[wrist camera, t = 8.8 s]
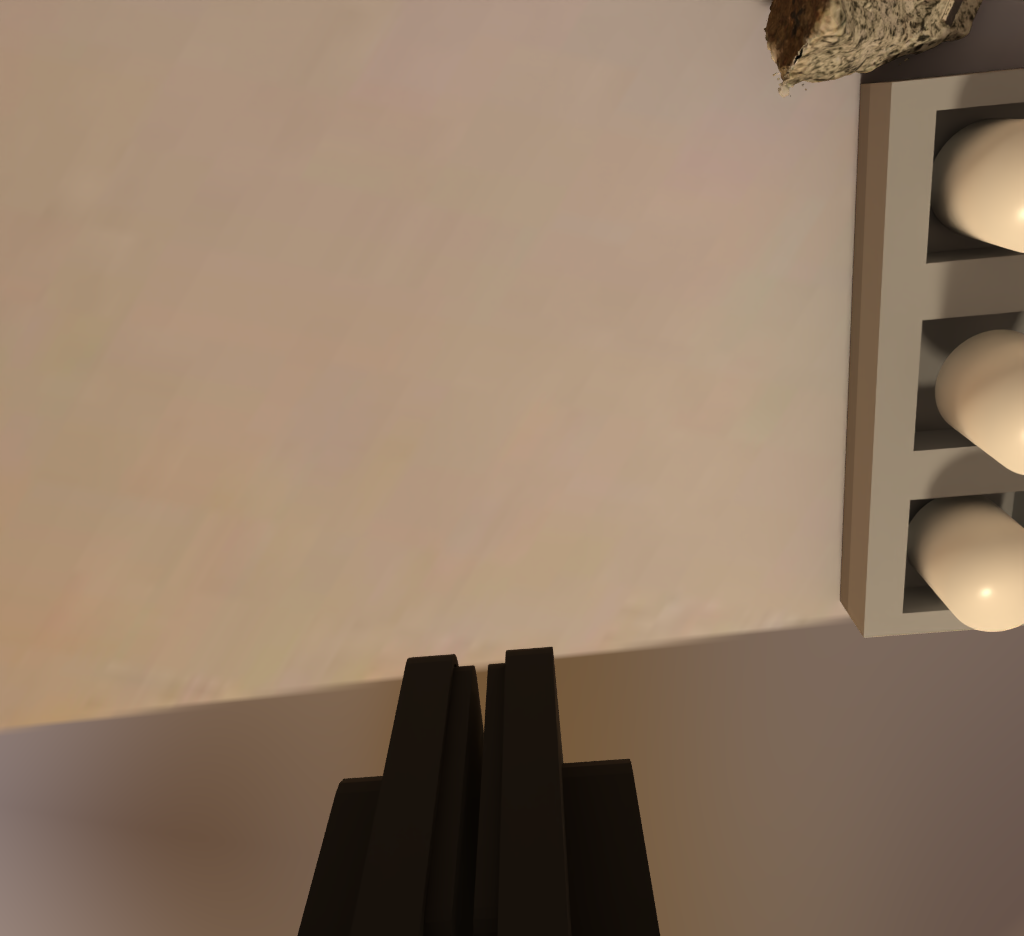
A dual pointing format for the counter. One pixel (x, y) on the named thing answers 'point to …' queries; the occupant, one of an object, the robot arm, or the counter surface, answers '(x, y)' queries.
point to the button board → (916, 342)
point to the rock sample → (857, 34)
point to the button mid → (987, 394)
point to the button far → (971, 560)
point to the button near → (982, 182)
